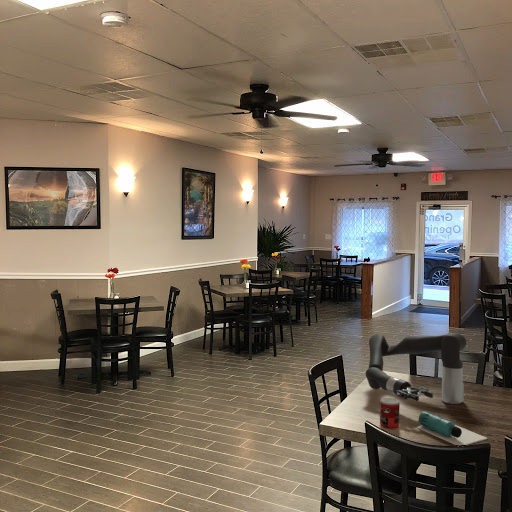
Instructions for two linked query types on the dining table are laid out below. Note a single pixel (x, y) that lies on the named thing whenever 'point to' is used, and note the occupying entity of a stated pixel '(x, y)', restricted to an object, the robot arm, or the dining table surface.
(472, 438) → the mat
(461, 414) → the dining table surface
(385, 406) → the canned food
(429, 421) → the beverage bottle
